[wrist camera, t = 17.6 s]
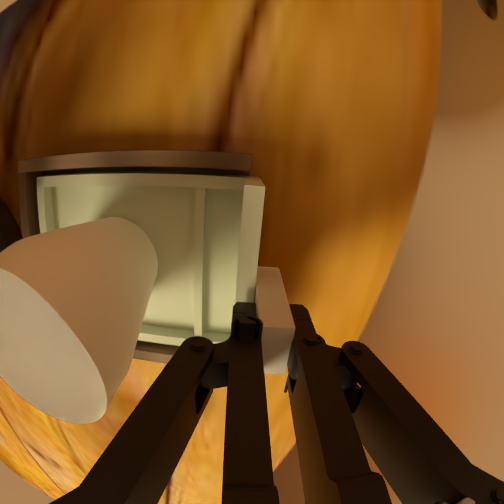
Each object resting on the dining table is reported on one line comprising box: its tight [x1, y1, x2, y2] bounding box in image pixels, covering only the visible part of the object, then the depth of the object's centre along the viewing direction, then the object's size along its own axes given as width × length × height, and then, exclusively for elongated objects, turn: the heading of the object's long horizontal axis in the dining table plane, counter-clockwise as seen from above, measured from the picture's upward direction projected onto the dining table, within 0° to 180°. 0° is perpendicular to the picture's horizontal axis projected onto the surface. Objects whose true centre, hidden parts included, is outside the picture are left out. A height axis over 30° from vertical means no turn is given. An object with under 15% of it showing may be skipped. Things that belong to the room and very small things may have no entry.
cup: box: [0, 217, 158, 424], centre depth 14 cm, size 9×9×12 cm
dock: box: [18, 150, 252, 364], centre depth 19 cm, size 18×16×3 cm
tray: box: [37, 171, 265, 346], centre depth 18 cm, size 17×13×6 cm
